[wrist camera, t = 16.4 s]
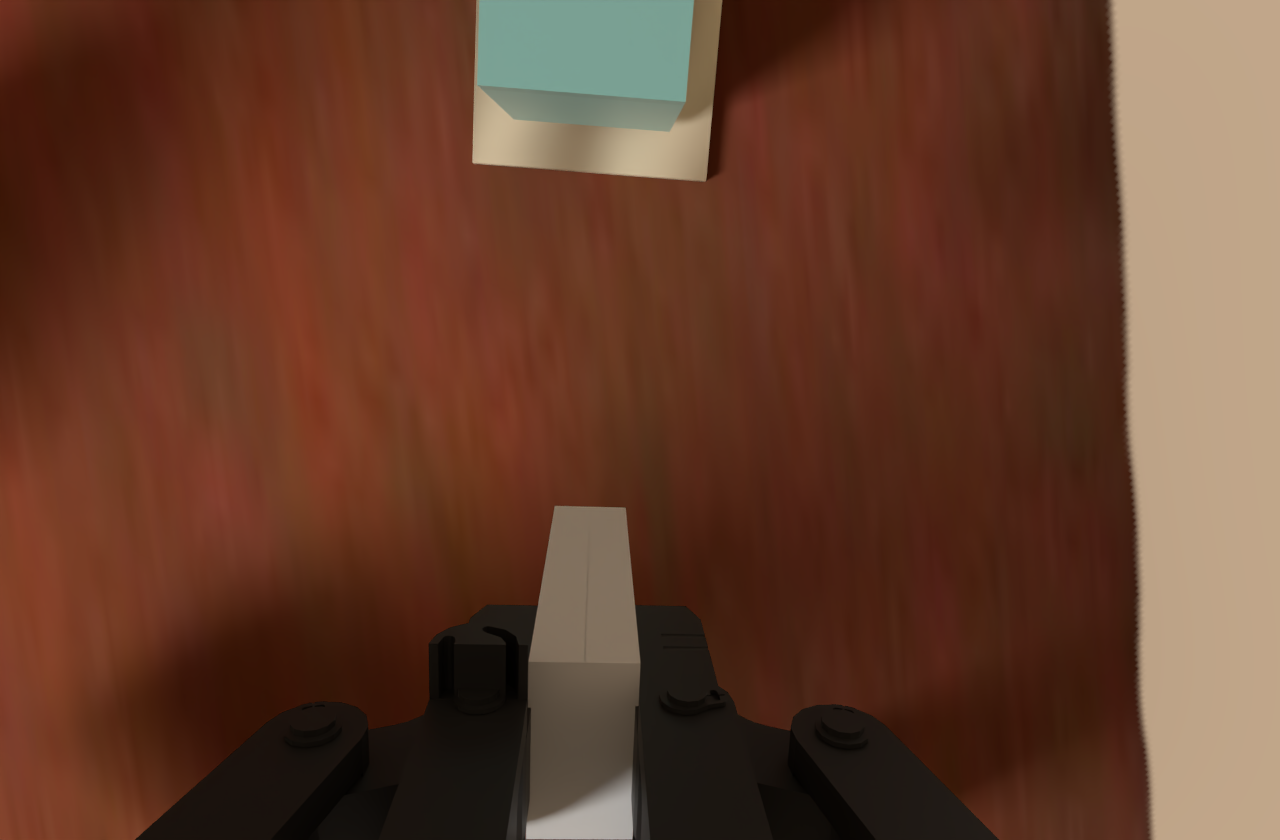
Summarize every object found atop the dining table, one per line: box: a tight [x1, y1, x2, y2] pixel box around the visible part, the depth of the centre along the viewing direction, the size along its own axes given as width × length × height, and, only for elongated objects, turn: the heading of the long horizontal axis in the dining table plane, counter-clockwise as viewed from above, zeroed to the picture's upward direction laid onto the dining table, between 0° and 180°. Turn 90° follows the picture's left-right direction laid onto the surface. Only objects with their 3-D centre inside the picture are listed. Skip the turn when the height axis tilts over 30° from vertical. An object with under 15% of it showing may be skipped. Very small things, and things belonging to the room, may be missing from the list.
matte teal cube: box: [477, 0, 694, 132], centre depth 29 cm, size 6×6×9 cm
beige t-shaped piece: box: [472, 0, 722, 182], centre depth 30 cm, size 10×10×10 cm
